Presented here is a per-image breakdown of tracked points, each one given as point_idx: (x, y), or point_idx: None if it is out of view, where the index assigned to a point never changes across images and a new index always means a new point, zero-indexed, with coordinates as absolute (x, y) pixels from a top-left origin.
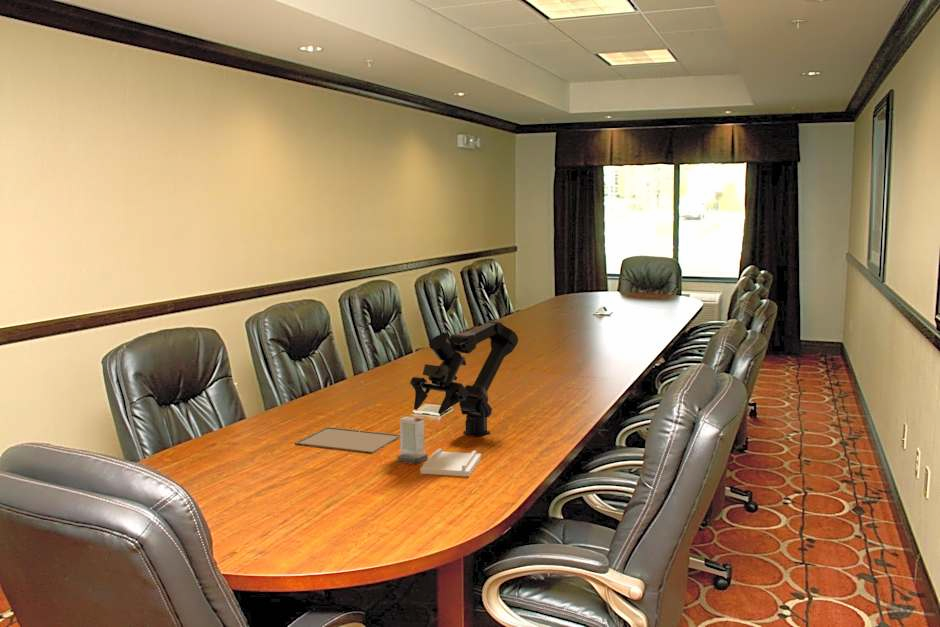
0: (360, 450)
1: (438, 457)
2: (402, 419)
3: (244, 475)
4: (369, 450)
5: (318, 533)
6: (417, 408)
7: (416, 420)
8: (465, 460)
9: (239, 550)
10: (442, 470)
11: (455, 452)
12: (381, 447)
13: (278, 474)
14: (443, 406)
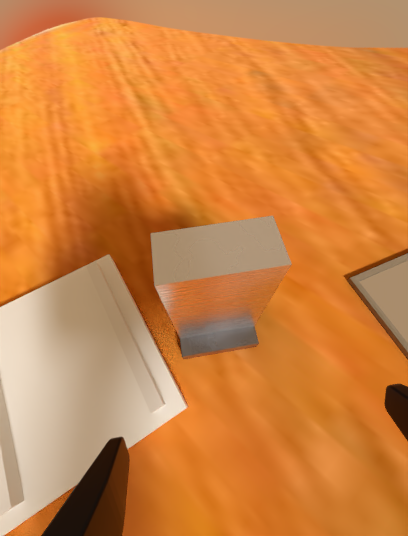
0: (384, 263)
1: (126, 358)
2: (253, 219)
3: (353, 85)
4: (374, 283)
5: (83, 65)
6: (400, 426)
7: (171, 245)
8: (18, 404)
9: (124, 27)
10: (47, 285)
11: None
12: (387, 328)
13: (326, 109)
14: (53, 525)
